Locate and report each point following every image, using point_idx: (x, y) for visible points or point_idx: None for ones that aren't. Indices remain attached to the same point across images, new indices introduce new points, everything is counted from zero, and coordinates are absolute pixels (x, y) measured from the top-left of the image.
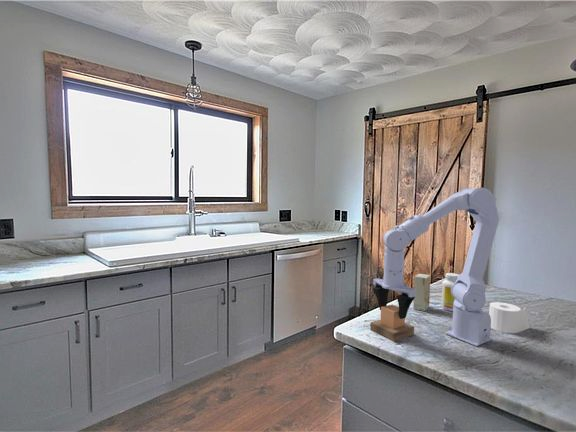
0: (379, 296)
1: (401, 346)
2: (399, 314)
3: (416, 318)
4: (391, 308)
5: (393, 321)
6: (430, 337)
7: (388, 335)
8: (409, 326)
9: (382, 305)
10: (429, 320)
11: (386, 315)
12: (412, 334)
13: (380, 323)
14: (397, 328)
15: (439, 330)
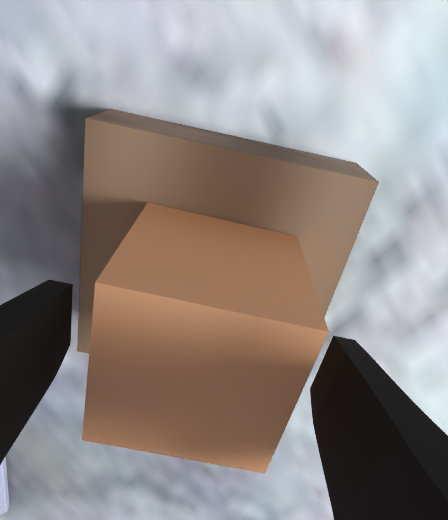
0: (430, 487)
1: (19, 76)
2: (41, 299)
3: (214, 489)
4: (199, 373)
5: (130, 231)
6: None
7: (157, 124)
8: None
9: (343, 392)
10: (155, 502)
11: (226, 266)
12: None
13: (290, 225)
14: None
15: (50, 440)
